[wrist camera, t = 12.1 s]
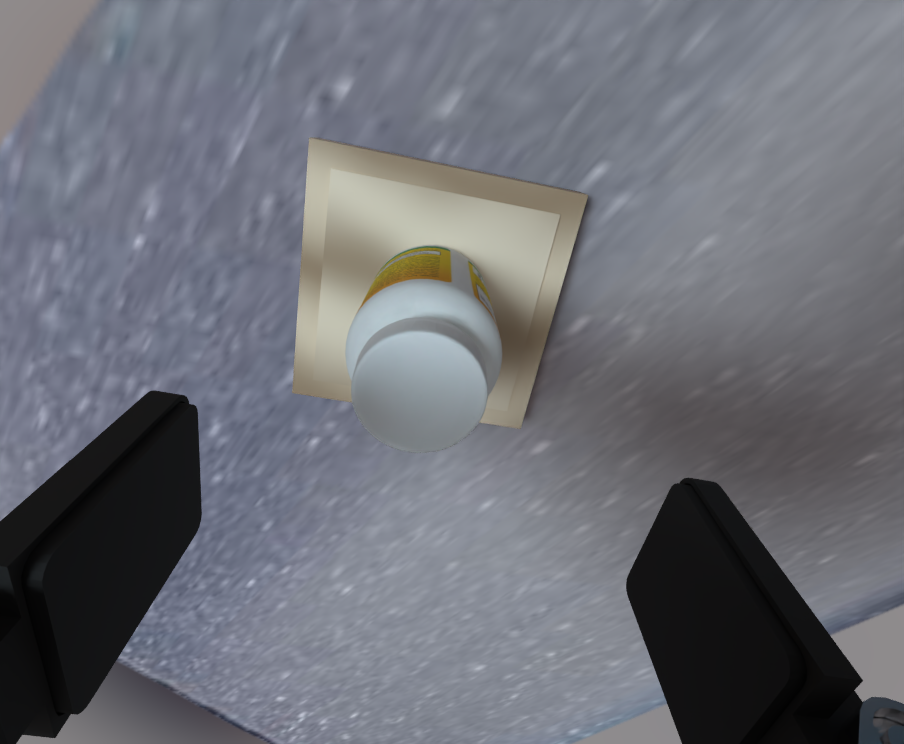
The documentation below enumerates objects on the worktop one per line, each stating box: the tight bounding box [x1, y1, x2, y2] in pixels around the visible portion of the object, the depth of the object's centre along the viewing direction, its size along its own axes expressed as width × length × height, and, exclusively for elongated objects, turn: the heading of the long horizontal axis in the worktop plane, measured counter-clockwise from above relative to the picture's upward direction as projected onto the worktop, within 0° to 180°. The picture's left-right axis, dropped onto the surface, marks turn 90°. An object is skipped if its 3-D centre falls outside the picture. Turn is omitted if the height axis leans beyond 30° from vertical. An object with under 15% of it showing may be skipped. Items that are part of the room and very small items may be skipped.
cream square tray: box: [292, 138, 588, 429], centre depth 24 cm, size 12×12×2 cm
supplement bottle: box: [345, 245, 502, 453], centre depth 19 cm, size 6×5×10 cm
